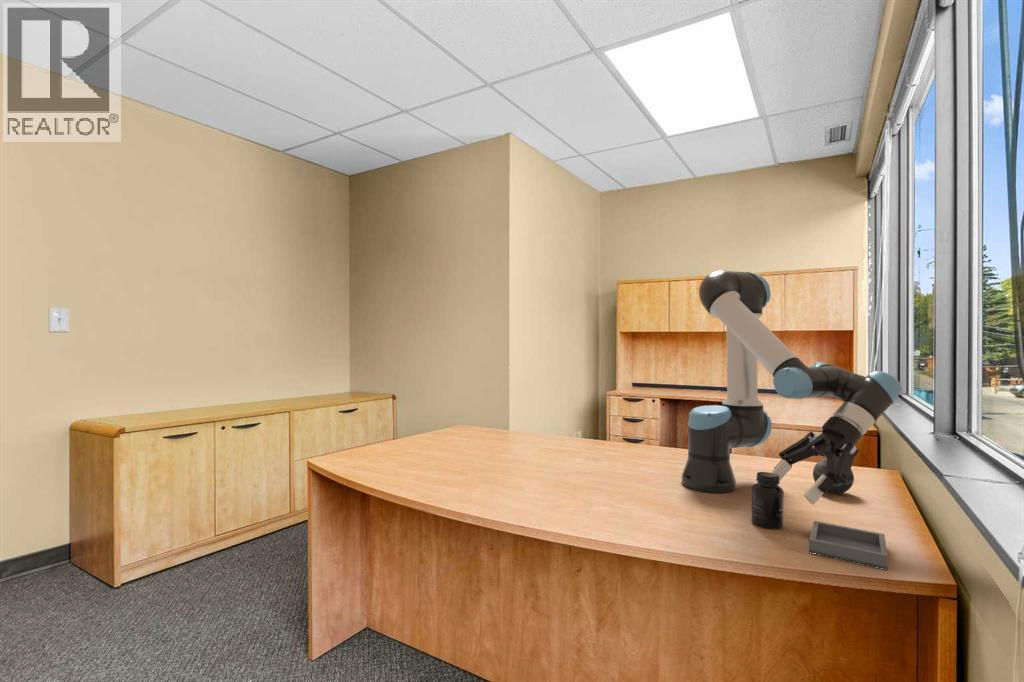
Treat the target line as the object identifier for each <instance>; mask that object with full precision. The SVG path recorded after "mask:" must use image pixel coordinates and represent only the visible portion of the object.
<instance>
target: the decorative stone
mask: <svg viewBox="0 0 1024 682" xmlns="http://www.w3.org/2000/svg"><path fill="white" fill-rule="evenodd" d="M826 471H827V458H826V457H825V458H823V459H820V460H819V461H817V463H815V465H814V467H813V469H812V476H813V480H814V483H815V482H816V481H817V480H818V479H819V477H820V476H821V475H822V474H823V475H825V472H826ZM841 475H842V474H841ZM825 476H826V475H825ZM826 477H827V476H826ZM854 481H855V476H854V472H853V470H852V469H851V470H850V473H849V477H848V480H847V482H846V483H845V484H842V483H841V482H838V483H836V484H833V486H832V487H831V488H830V489H829V490H828V491H827V492H826V493H829V494H834V495H837V494H839V495H840V494H844V493H846V492H847V491H849V490H850V489H851V488H852V486H853V484H854Z"/></svg>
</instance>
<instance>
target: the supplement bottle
mask: <svg viewBox="0 0 1024 682" xmlns="http://www.w3.org/2000/svg"><path fill="white" fill-rule="evenodd" d="M755 478H756V483H754V484H753V485H752V487H751V513H750V514H751V516H750V517H751V519H750V520H751V522H752V524H754V525H755V526H757V527H761V528H762V529H769V530H779V529H781V528H783V526H784V510H785V509H784V504H785V503H784V502H785V492H784V489H783V488H782V487H781V486H780V484H781V482H780V481H781V480H780V481H779V475H777V474H774V473H771V472H767V471H758V472H757V473H756V477H755Z"/></svg>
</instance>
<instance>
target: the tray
mask: <svg viewBox="0 0 1024 682" xmlns="http://www.w3.org/2000/svg"><path fill="white" fill-rule="evenodd" d="M808 541H809V543H808V544H809V545H808V546H809V547H808V553H809V552H811V553H816V554H820V555H823V556H822V557H825V556H827V557H826V558H829V557H832V558H831V559H834V558H837V559H836V560H838V559H841V560H840V561H843V560H845V561H844V562H847V561H850V562H849V563H852V562H855V563H854V564H856V563H860V564H859V565H861V564H864V565H863V566H865V565H869V566H868V567H870V566H873V567H872V568H874V567H878V568H877V569H879V568H883V569H887V570H888V557H889V556H888V548H887V542H886V535H885V534H884V533H880V532H875V531H869V530H864V529H859V528H854V527H848V526H843V525H838V524H833V523H827V522H823V521H817V520H813V523H812V527H811V532H810V535H809V539H808ZM811 553H810V554H811ZM816 554H815V555H816ZM820 555H819V556H820ZM883 569H882V570H883Z"/></svg>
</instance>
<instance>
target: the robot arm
mask: <svg viewBox="0 0 1024 682" xmlns="http://www.w3.org/2000/svg"><path fill="white" fill-rule="evenodd" d="M698 295H699V300H700V302H701V304H702V306H703V308H704V309H705V310H706V311H707V313H708V314H709V315H710V316H711V317H713V318H714V319H715V318H716V319H719V320H720V321H721V322H722V324H724V325H725V326H726V388H727V390H726V391H727V392H726V394H727V395H726V398H725V399H723V401H722V402H721V405H719V404H718V405H716V404H715V405H713V404H712V405H700V406H697V407H694V408H692V409H691V410H690V411H689V414H688V421H687V426H688V428H687V430H688V435H687V437H688V441H687V442H688V443H687V447H688V449H687V450H688V451H687V454H688V456H687V460H686V463H685V466H684V468H683V470H682V473H681V484H682V485H684V486H685V487H686V488H689V489H692V490H696V491H700V492H704V493H705V492H706V493H715V494H716V493H718V494H719V493H720V494H723V493H731V492H734V491H736V489H737V482H736V481H737V480H736V476H735V475H734V474H735V473H734V471H733V468H732V464H731V460H730V459H731V458H730V457H731V455H730V454H731V449H737V448H738V449H739V448H751V447H755V446H759V445H761V444H763V443H765V442H766V441H767V440H769V439H768V438H769V437H770V436H771V433H772V430H773V426H772V419H771V417H770V416H769V415H768V412H767V411H766V410H764V403H763V402H762V401H761V400H760V399H759V398H758V397H759V396H758V362H759V363H760V364H761V365H762V366H763V368H765V369H766V370H767V372H768V373H769V374H770V375H771V376H772V377H773V380H772V385H773V387H774V390H775V392H776V393H777V394H778V395H779V396H780V397H783V398H786V399H794V400H795V399H796V400H801V399H809V398H825V397H827V398H829V397H831V398H835V399H837V400H839V401H842V404H841V405H840V406H839V407H838V408H837V409H836V410H835V411H834V412H833V413H832V416H830V417H828V419H827V420H826V421H825V422H824V424H823V425H822V427H821V428H822V433H820V434H819V435H816V434H815V433H814V432H813V431H810V432H809V433H807V434H806V435H805V436H804V437H803V438H801V439H800V440H798V441H795V442H794V443H793V444H791V445H790V446H788V447H787V448H785V449H783V450H782V451H780V452H779V453H778V456H779V457H780V458H781V460H780V461H779V462H778V463H777V464H776V466H774V468H773V470H772V471H771V472H770V473H774V474H777V475H779V481H781V480H782V479H783V478H784V477H785V476H786V475H787V473H789V471H790V470H791V469H792V468H793V465H794V464H796V463H800V462H801V461H804V460H807V459H809V458H811V457H819V456H820V457H825V458H827V471H826V472H825V475H826V476H827V477H826V476H825V475H823V474H822V475H821V476H820V477H819V479H818V480H817V481H816V482H815V481H814V483H813V484H812V485H811V486H810V487H809V489H807V490H806V492H804V494H803V496H802V497H804V498H805V499H806V500H807V501H808V502H809V503H810V505H812V506H814V504H816V503H817V502H818V500H819V499H820V498H821V497H822V496H823V495H824V494H827V493H828V492H827V491H828V490H829V489H830V488H831V487H832V486H833V484H836V483H838V482H841V483H842V484H845V483H846V482H847V480H848V477H849V473H850V470H852V466H853V463H854V460H855V457H856V456H857V455H858V453H859V452H860V451H859V449H858V448H857V447H856V445H857V443H858V442H859V441H860V440H861V438H862V436H863V435H865V434H866V433H867V432H868V431H869V429H871V427H872V426H873V425H874V424H875V423H876V422H877V420H878V419H880V417H881V416H882V415H883V414H884V413H885V412H886V411H887V410H888V408H889V407H891V406H892V405H893V404H894V402H895V401H896V399H898V397H899V396H900V395H901V393H902V391H903V387H902V385H901V382H900V381H899V380H898V379H896V377H894V376H893V375H891V374H889V373H888V372H885V371H881V370H873V371H871V372H870V373H869V374H867V375H866V376H864V375H861V374H857V373H855V372H853V371H849V370H846V369H844V368H842V367H838V366H836V365H834V364H832V363H826V362H823V361H816V362H814V363H813V364H812V365H810V366H807V365H806V364H805V363H804V362H803V361H802V360H801V359H800V358H798V356H796V354H794V352H793V351H791V350H790V348H789V347H787V346H786V344H785V343H784V342H783V341H782V340H780V338H779V337H778V336H777V335H775V333H774V332H772V331H771V330H770V328H768V326H767V325H765V323H763V321H761V319H760V318H761V317H762V316H763V309H764V308H765V307H766V306H767V304H768V303H769V302H770V299H771V288H770V284H769V283H768V281H767V279H766V278H764V277H763V276H762V275H760V274H757V273H752V272H749V271H733V270H730V271H729V270H716V271H713V272H711V273H709V274H707V275H706V276H705V277H704V278H703V280H702V281H701V283H700V284H699V289H698ZM841 474H842V475H841Z"/></svg>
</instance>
